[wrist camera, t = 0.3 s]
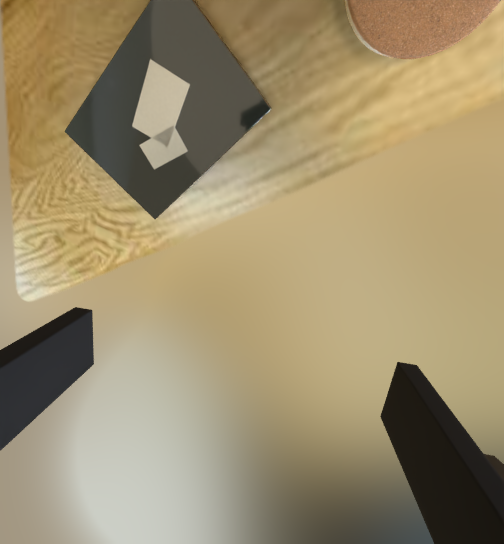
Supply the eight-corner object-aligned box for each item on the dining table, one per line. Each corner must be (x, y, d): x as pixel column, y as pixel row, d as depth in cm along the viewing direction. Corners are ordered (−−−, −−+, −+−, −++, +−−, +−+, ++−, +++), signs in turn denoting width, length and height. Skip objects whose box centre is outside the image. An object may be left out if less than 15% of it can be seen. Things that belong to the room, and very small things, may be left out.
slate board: (173, -28, 26) (170, -31, 26) (271, 108, 31) (271, 109, 30) (68, 130, 35) (63, 131, 34) (157, 217, 40) (154, 219, 39)
